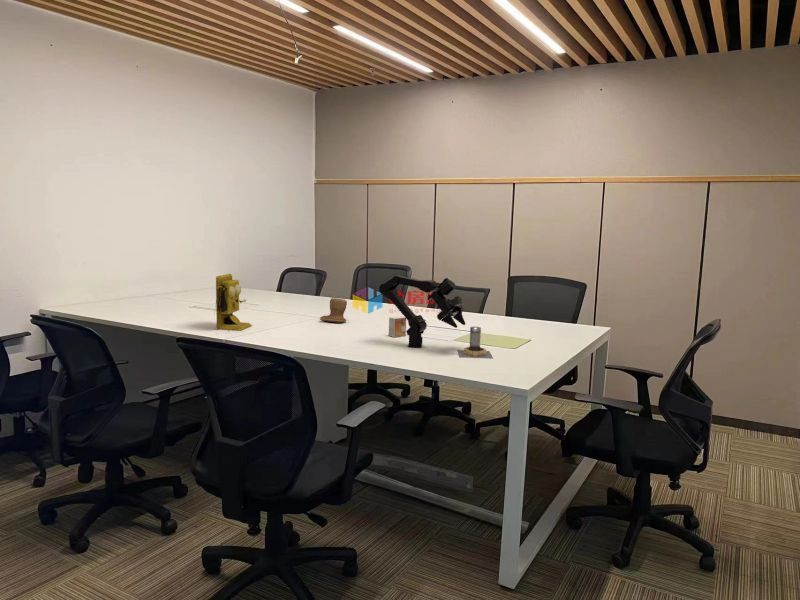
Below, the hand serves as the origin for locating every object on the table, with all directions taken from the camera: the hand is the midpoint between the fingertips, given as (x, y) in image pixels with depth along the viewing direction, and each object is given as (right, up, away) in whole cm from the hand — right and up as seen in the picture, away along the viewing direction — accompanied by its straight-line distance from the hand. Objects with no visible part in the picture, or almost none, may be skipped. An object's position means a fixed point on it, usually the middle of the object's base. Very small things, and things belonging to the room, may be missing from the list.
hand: (460, 326), depth 289 cm
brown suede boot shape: (-70, -1, +78) cm, 105 cm away
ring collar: (+6, -13, -2) cm, 15 cm away
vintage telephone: (-124, -4, +49) cm, 133 cm away
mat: (+6, -14, -2) cm, 16 cm away
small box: (-31, -7, +40) cm, 51 cm away
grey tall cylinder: (+6, -13, -2) cm, 15 cm away
